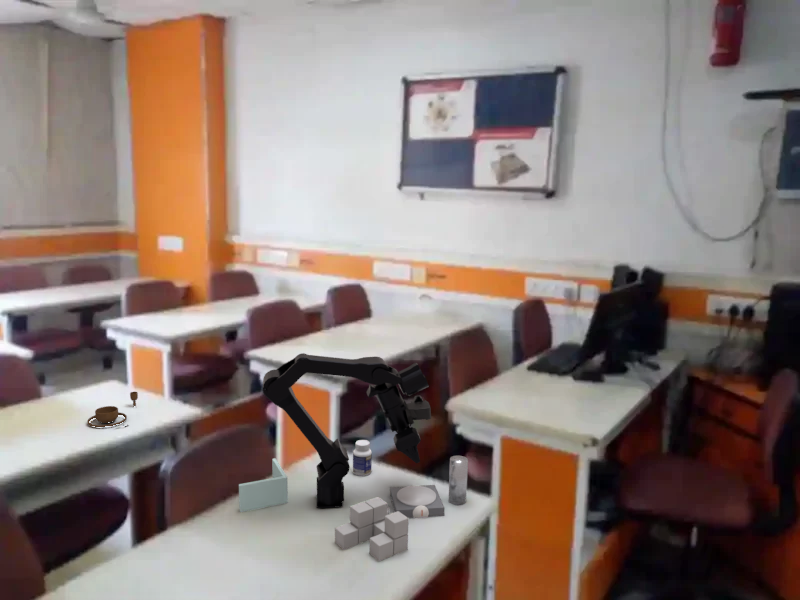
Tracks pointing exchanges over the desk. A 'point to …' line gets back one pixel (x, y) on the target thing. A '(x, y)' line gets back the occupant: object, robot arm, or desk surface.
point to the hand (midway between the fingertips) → (415, 454)
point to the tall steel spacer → (458, 480)
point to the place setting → (110, 413)
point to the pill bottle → (362, 458)
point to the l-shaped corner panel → (264, 491)
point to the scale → (417, 501)
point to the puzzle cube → (374, 529)
